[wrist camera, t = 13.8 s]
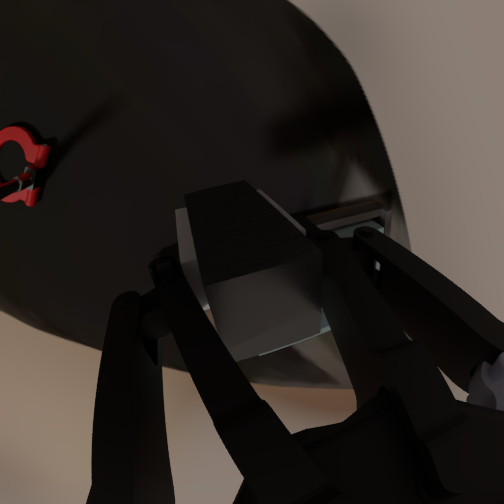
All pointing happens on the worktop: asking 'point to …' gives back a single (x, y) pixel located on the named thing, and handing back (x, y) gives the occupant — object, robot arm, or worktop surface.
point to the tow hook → (33, 174)
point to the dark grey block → (254, 270)
